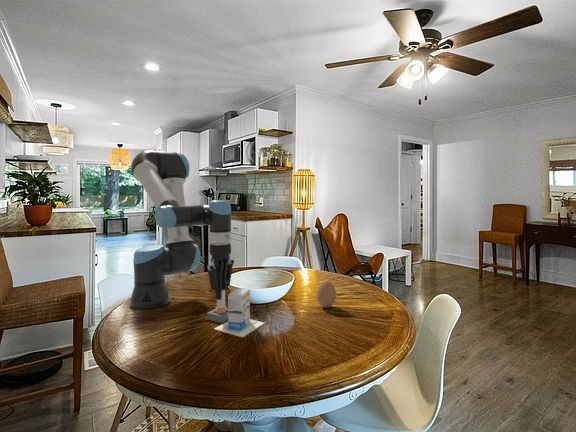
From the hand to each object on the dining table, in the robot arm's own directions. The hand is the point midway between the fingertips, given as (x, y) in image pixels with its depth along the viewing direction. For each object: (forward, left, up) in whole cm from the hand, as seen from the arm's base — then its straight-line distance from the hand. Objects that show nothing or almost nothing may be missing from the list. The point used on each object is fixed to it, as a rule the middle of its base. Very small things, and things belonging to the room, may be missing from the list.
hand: (221, 307), depth 120 cm
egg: (+29, +30, -4) cm, 42 cm away
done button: (0, 0, -3) cm, 3 cm away
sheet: (+10, -2, -4) cm, 11 cm away
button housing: (0, 0, -4) cm, 4 cm away
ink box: (+10, -2, -4) cm, 11 cm away
